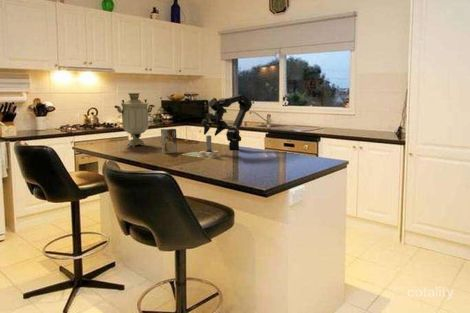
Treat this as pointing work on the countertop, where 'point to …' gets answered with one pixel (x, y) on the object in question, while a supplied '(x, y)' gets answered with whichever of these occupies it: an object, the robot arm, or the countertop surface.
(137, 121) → the samovar
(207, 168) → the countertop surface
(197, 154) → the board
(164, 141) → the coffee box
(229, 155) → the countertop surface
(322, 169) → the countertop surface
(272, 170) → the countertop surface
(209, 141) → the key rod
